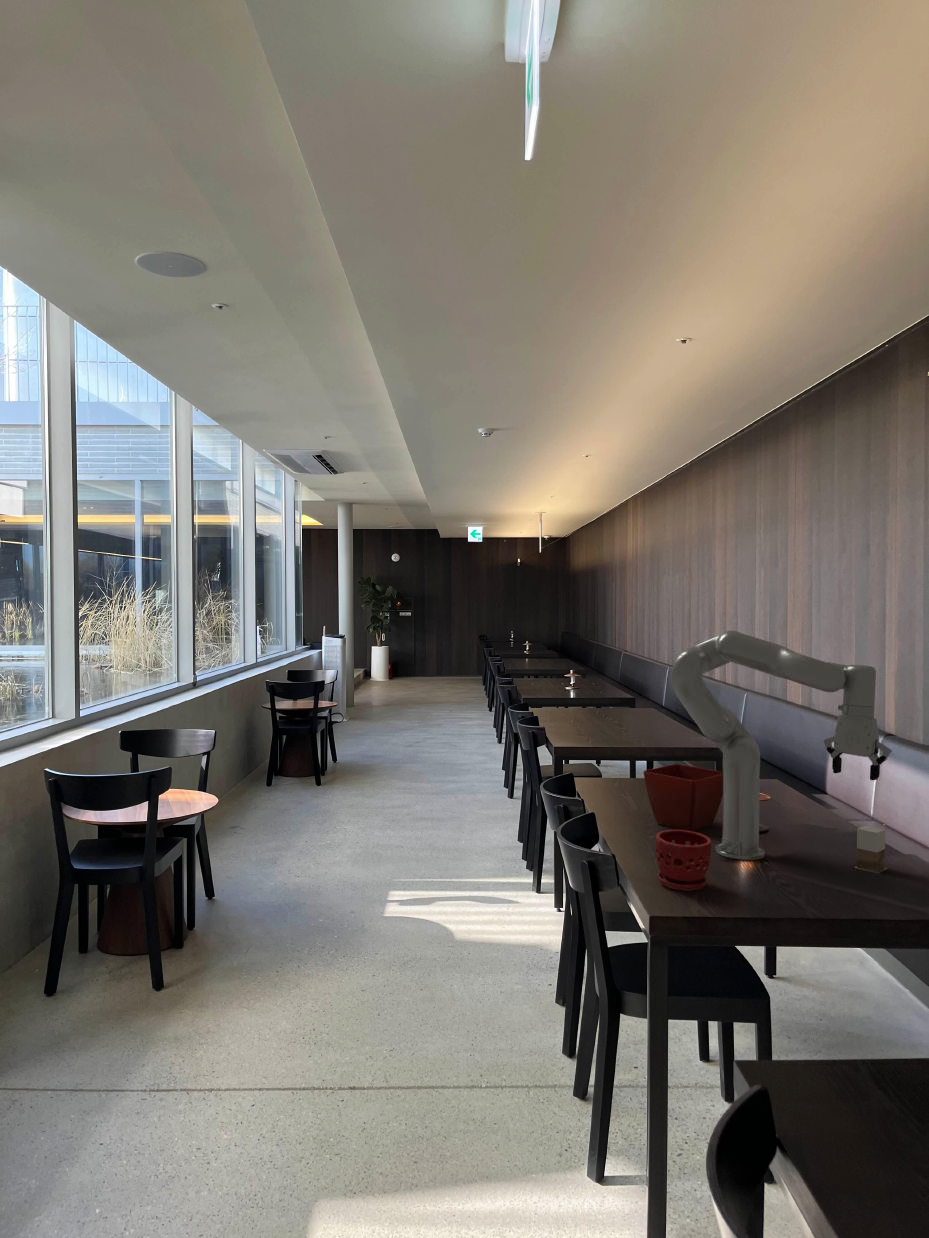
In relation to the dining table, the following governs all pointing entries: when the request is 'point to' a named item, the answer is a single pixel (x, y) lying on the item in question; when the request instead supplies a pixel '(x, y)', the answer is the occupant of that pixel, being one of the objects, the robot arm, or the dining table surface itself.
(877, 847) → the cream block
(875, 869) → the walnut block
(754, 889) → the dining table surface
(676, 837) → the plant pot
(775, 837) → the dining table surface
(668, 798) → the plant pot
